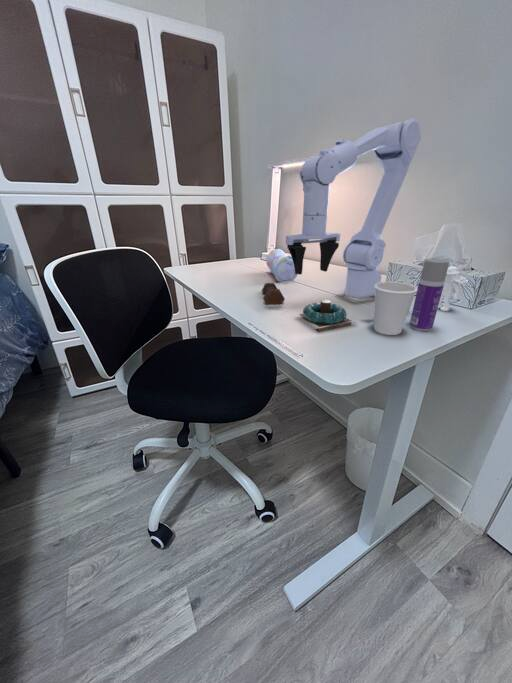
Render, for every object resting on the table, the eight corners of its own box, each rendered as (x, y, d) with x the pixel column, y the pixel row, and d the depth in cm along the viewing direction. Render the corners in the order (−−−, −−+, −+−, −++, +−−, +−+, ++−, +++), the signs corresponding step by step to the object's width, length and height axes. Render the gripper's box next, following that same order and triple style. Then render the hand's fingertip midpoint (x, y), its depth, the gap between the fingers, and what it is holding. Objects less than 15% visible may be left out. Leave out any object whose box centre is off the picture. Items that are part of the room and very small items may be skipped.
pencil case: (298, 283, 104) (299, 256, 100) (274, 284, 103) (274, 256, 99) (285, 271, 123) (286, 247, 119) (265, 271, 122) (265, 248, 118)
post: (328, 313, 76) (330, 294, 73) (351, 325, 68) (354, 304, 66) (298, 318, 73) (299, 298, 70) (318, 331, 65) (320, 309, 63)
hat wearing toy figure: (461, 312, 75) (476, 265, 70) (450, 314, 74) (464, 266, 69) (431, 302, 83) (442, 259, 77) (421, 304, 81) (431, 260, 76)
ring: (329, 308, 76) (330, 299, 74) (354, 321, 67) (355, 311, 66) (295, 313, 72) (295, 304, 71) (317, 328, 64) (318, 318, 63)
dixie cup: (384, 320, 71) (392, 279, 66) (416, 332, 64) (426, 288, 60) (359, 327, 67) (366, 284, 63) (389, 340, 60) (399, 294, 56)
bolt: (270, 298, 94) (276, 312, 80) (257, 291, 93) (261, 304, 79) (279, 282, 92) (287, 294, 78) (266, 275, 91) (271, 285, 77)
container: (431, 332, 64) (450, 263, 57) (407, 328, 66) (423, 261, 59) (432, 325, 67) (450, 259, 61) (410, 322, 69) (425, 257, 63)
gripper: (330, 213, 75) (325, 266, 81) (280, 215, 70) (279, 271, 76) (348, 214, 69) (341, 271, 75) (295, 216, 64) (292, 277, 70)
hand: (311, 272), depth 75 cm, fingers open, 7 cm apart
